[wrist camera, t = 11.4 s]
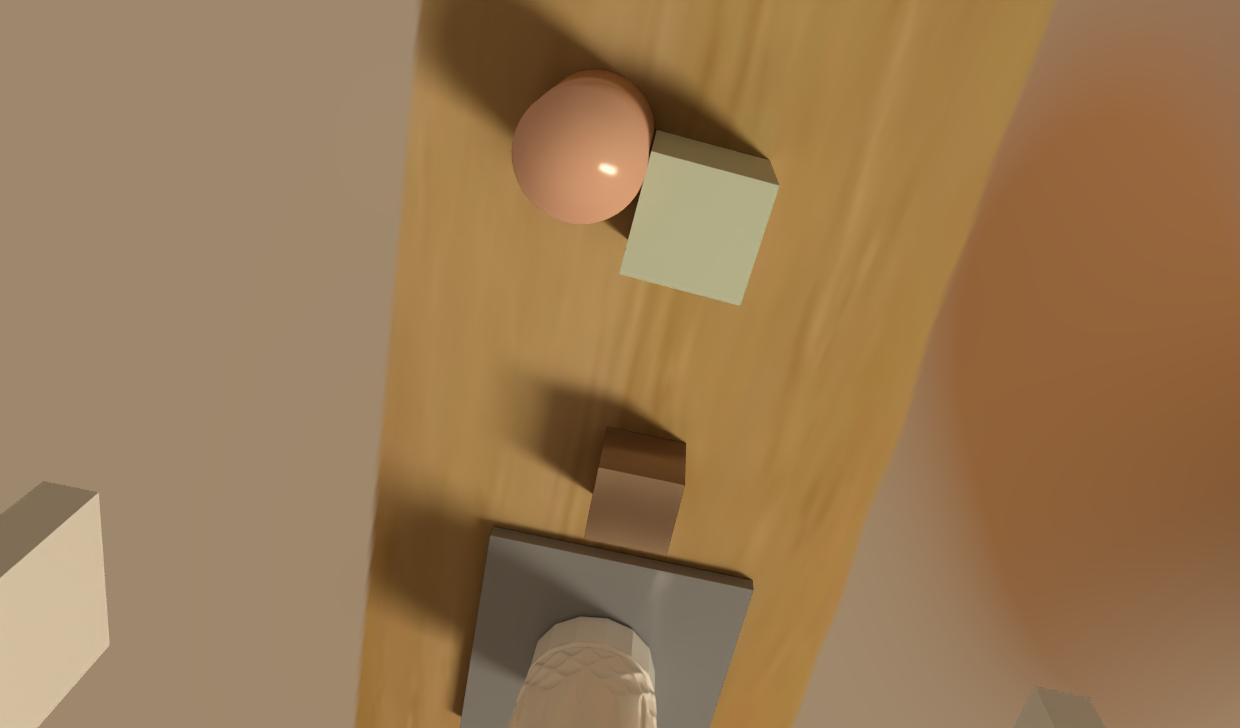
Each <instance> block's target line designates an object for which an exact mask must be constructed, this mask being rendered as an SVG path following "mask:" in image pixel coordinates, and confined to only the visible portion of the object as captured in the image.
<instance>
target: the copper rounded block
mask: <svg viewBox="0 0 1240 728" xmlns="http://www.w3.org/2000/svg"><path fill="white" fill-rule="evenodd" d="M654 130H655V128H654V119H653V115H652V111H651V109H650V106H649V104H648V102H647V100H646V98H645V97H644V95H643V94H642V92H641V91H640V90H639V89H638V88H637V87H636V86H635V85H634V84H633V83H632V82H631V81H629V80H628V79H626V78H625V77H623V76H621V75H619V74H617V73H614V72H611V71H607V70H601V69H590V70H583V71H580V72H576V73H574V74H572V75H569V76H568V77H566V78H564V79H563V80H562V81H560V82H559V83H558V84H557V85H555V86H554V87H553V88H552V89H550V90H549V91H548V92H547V93H545V94H544V95H543V96H542V97H540V98H539V99H538V100H537V101H535V102H534V103H533V104H532V105H531V106H530V107H529V108H528V109H527V110H526V112H525V113H524V115H523V116H522V118H521V119H520V121H519V123H518V125H517V128H516V131H515V133H514V138H513V142H512V163H513V169H514V172H515V176H516V178H517V181H518V183H519V185H520V187H521V189H522V190H523V192H524V194H525V195H526V196H527V198H528V199H529V200H530V201H531V202H532V203H533V204H534V205H535V206H536V207H537V208H538V209H540V210H541V211H542V212H544V213H545V214H547V215H549V216H550V217H553V218H555V219H557V220H560V221H563V222H567V223H573V224H591V223H596V222H600V221H603V220H606V219H609V218H611V217H612V216H614V215H616V214H618V213H619V212H620V211H622V210H623V209H624V208H625V207H626V206H627V205H629V204H630V202H631V201H632V200H633V199H634V197H635V196H636V194H637V193H638V191H639V189H640V187H641V185H642V183H643V180H644V177H645V173H646V170H647V166H648V162H649V158H650V154H651V150H652V146H653V141H654Z"/></svg>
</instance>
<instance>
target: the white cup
mask: <svg viewBox="0 0 1240 728" xmlns="http://www.w3.org/2000/svg"><path fill="white" fill-rule="evenodd" d="M507 728H657V709H656V698H655V669H654V665H653V661H652V656H651V652H650V648H649V647H648V646H647V645H646V644H645V643H644V642H643V640H642V639H641V638H640V637H639V636H638V635H637V634H636V633H635V632H634V630H632V629H630V628H628V627H626V626H624V625H621V624H619V623H617V622H615V621H613V620H611V619H608V618H597V617H583V616H580V617H577V618H573V619H570V620H567V621H564V622H561V623H557V624H555V625H554V626H553V627H552V628H551V629H550V630H549V631H548V632H546V633H545V634H544V635H543V636H542V637H541V638H540V639H539V640H538V642H537V645H536V649H535V652H534V656H533V659H532V662H531V666H530V669H529V671H528V674H527V677H526V679H525V681H524V682H523V684H522V686H521V689H520V692H519V695H518V698H517V700H516V703H515V706H514V710H513V714H512V716H511V719H510V721H509V724H508V727H507Z"/></svg>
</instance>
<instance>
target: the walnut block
mask: <svg viewBox="0 0 1240 728" xmlns="http://www.w3.org/2000/svg"><path fill="white" fill-rule="evenodd" d="M685 463H686V443H683V442H678V441H673V440H668V439H663V438H659V437H654V436H649V435H644V434H639V433H634V432H630V431H625V430H620V429H615V428H610V427H607V429H606V433H605V438H604V443H603V448H602V452H601V457H600V462H599V467H598V472H597V476H596V481H595V486H594V491H593V496H592V501H591V506H590V510H589V515H588V520H587V525H586V530H585V535H584V539H588V540H593V541H598V542H602V543H607V544H612V545H617V546H622V547H627V548H631V549H636V550H641V551H646V552H651V553H656V554H660V555H665V556H667V552H668V549H669V545H670V541H671V537H672V533H673V529H674V525H675V522H676V518H677V514H678V510H679V506H680V502H681V499H682V495H683V491H684V487H685Z"/></svg>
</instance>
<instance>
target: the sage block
mask: <svg viewBox="0 0 1240 728" xmlns="http://www.w3.org/2000/svg"><path fill="white" fill-rule="evenodd" d="M779 186H780V185H779V183H778V180H777V178H776V175H775V173H774V170H773V167H772V165H771V162H770V160H767V159H763V158H760V157H756V156H752V155H748V154H745V153H741V152H737V151H734V150H730V149H726V148H722V147H719V146H715V145H711V144H707V143H704V142H700V141H696V140H693V139H689V138H685V137H681V136H678V135H674V134H670V133H667V132H663V131H659V130H657V131H656V135H655V138H654V142H653V146H652V150H651V154H650V158H649V162H648V166H647V170H646V173H645V177H644V181H643V184H642V188H641V192H640V196H639V200H638V204H637V207H636V211H635V215H634V219H633V223H632V227H631V230H630V234H629V238H628V242H627V246H626V250H625V254H624V258H623V261H622V265H621V269H620V273H619V274H621V275H625V276H629V277H633V278H636V279H640V280H644V281H648V282H652V283H655V284H659V285H663V286H667V287H670V288H674V289H678V290H682V291H686V292H689V293H693V294H697V295H701V296H705V297H708V298H712V299H716V300H720V301H724V302H727V303H731V304H735V305H739V306H740V305H741V302H742V299H743V295H744V292H745V289H746V286H747V283H748V280H749V277H750V274H751V271H752V268H753V265H754V262H755V259H756V256H757V253H758V250H759V247H760V244H761V241H762V238H763V235H764V231H765V228H766V225H767V222H768V219H769V216H770V213H771V210H772V207H773V204H774V201H775V198H776V195H777V192H778V189H779Z"/></svg>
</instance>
